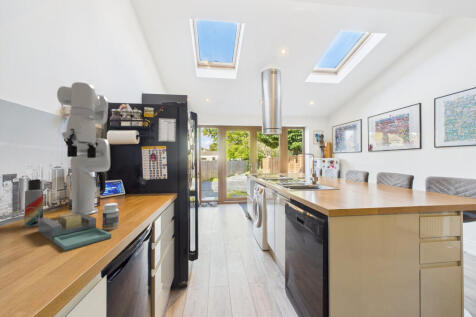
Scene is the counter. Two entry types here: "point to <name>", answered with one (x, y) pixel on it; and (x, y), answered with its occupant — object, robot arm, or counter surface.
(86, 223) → the slot block
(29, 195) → the lotion bottle
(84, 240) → the tray
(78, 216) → the chip
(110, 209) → the pill bottle
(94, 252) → the counter surface
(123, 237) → the counter surface
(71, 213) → the chip
